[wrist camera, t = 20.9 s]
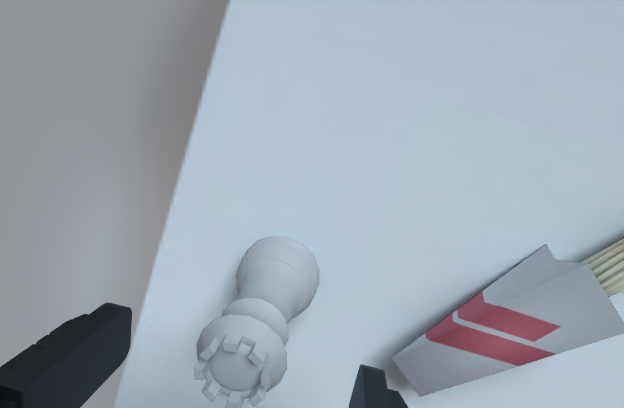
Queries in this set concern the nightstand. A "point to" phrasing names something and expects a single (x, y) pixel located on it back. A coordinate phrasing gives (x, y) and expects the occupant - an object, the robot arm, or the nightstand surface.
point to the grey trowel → (520, 320)
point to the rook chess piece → (257, 322)
